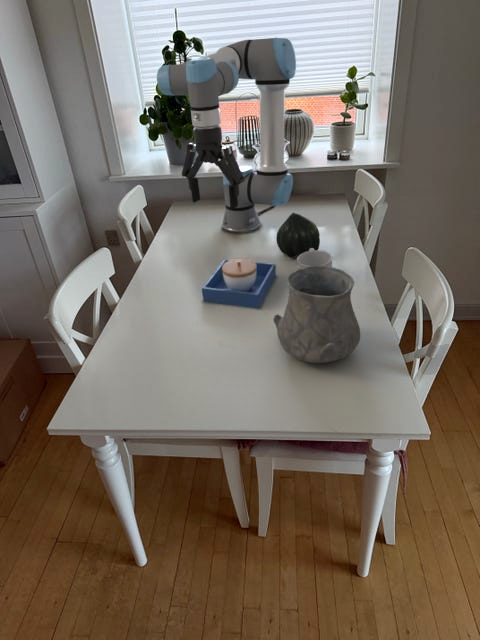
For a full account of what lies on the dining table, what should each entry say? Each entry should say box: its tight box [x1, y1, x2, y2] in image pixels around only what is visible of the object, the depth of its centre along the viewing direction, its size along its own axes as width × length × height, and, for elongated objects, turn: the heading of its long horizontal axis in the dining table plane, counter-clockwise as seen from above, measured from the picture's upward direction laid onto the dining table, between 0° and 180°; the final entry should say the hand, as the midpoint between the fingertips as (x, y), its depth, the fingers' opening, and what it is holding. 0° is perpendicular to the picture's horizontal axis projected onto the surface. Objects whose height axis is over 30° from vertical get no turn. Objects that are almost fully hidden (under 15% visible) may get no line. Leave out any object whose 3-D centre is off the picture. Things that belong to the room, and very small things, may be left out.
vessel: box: [273, 266, 361, 364], centre depth 110 cm, size 22×22×20 cm
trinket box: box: [222, 258, 257, 292], centre depth 140 cm, size 11×11×9 cm
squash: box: [275, 212, 321, 259], centre depth 157 cm, size 14×15×15 cm
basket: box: [201, 258, 277, 310], centre depth 141 cm, size 20×18×5 cm
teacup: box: [296, 248, 333, 270], centre depth 143 cm, size 14×11×8 cm
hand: (214, 204), depth 131 cm, fingers open, 13 cm apart
